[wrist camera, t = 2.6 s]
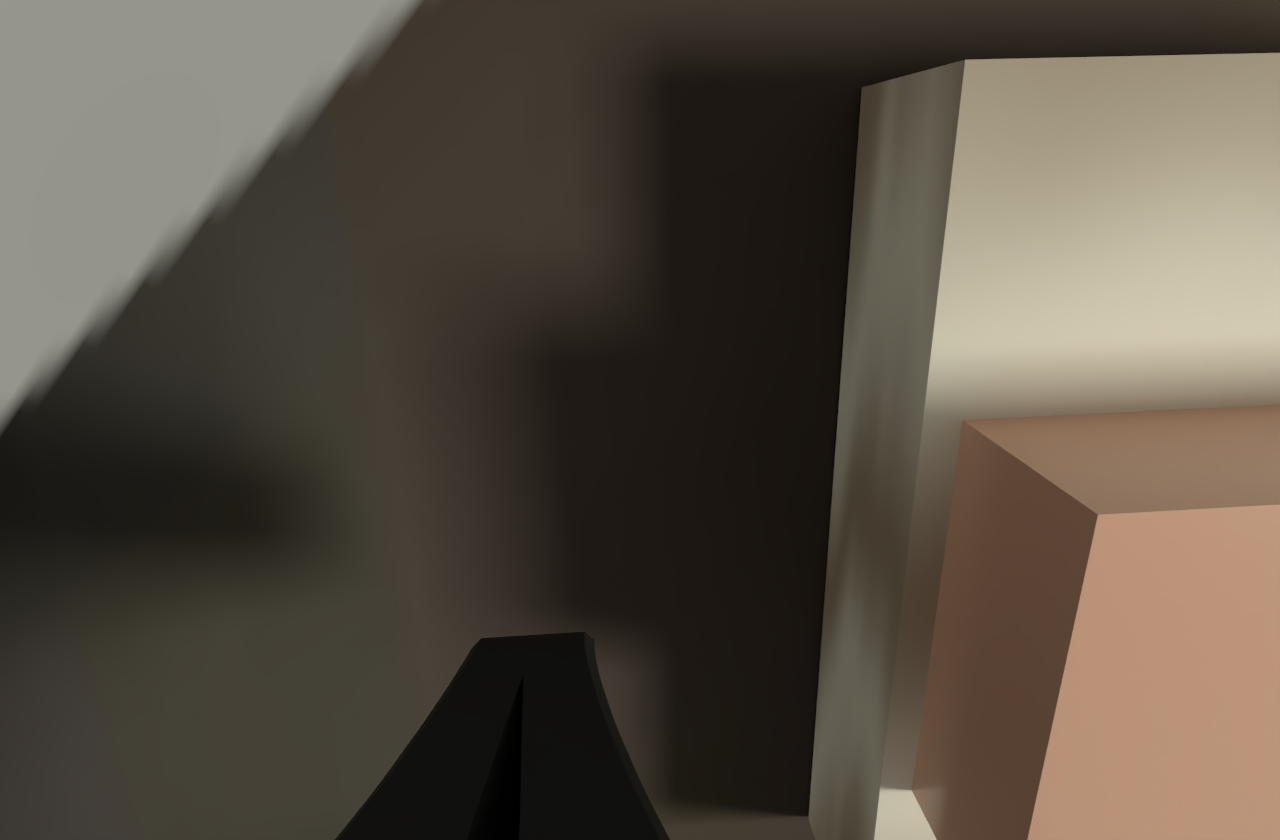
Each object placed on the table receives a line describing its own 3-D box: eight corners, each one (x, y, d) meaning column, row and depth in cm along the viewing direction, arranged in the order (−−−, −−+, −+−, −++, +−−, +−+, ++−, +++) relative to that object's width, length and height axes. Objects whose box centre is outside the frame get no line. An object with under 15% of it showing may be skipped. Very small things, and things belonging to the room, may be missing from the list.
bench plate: (1217, 786, 15) (1355, 926, 13) (808, 818, 15) (858, 971, 12) (1452, 73, 11) (1762, 41, 8) (861, 87, 10) (965, 59, 7)
